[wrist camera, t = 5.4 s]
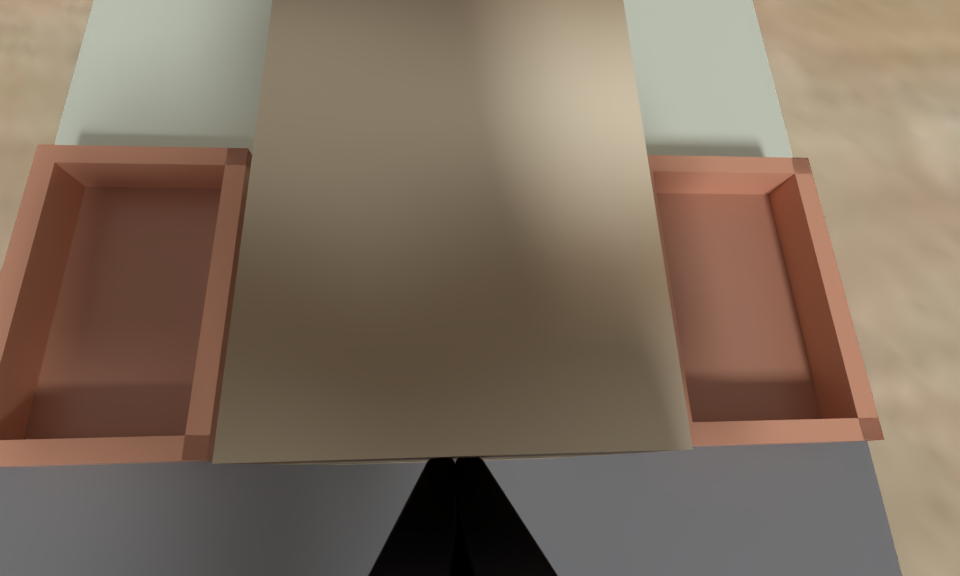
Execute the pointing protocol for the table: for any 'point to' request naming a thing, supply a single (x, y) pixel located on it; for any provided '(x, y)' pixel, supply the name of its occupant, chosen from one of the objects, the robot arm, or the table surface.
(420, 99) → the birch beam
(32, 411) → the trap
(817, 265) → the pink shallow tray
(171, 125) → the board
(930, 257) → the table surface
